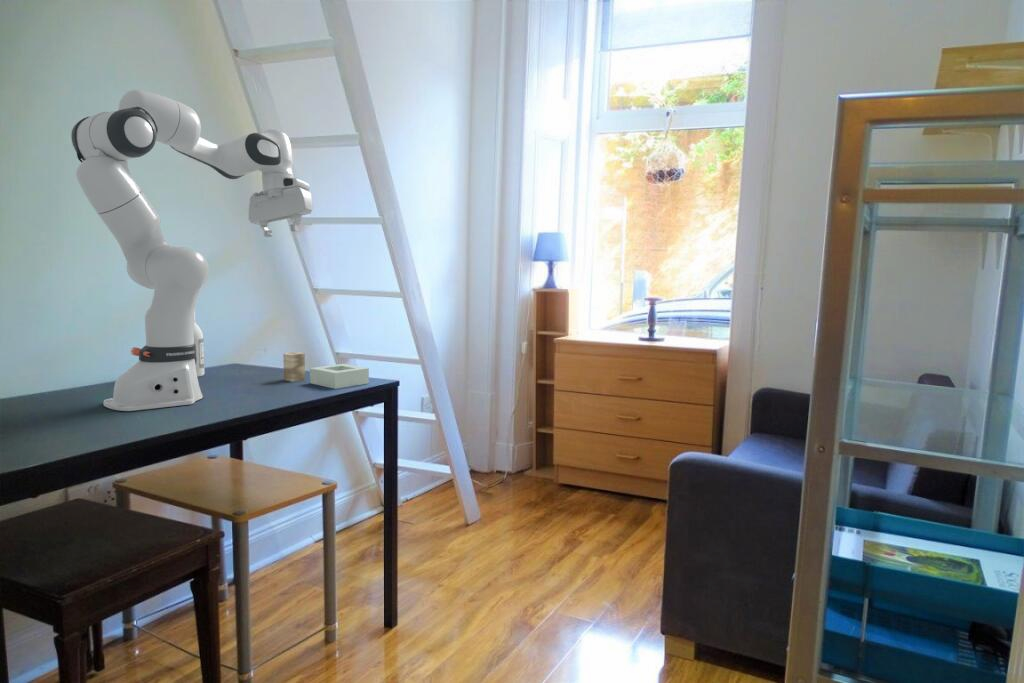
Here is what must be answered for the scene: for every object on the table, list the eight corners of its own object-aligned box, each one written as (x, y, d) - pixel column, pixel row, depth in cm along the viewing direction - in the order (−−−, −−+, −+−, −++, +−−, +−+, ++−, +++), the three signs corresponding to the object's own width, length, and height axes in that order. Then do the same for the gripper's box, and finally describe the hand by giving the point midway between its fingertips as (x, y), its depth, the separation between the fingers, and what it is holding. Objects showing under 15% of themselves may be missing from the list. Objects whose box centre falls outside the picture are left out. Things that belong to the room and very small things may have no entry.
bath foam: (199, 373, 221) (197, 309, 218) (207, 376, 216) (205, 310, 213) (176, 375, 216) (173, 310, 214) (184, 378, 211) (181, 311, 209)
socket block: (335, 388, 200) (335, 373, 200) (310, 383, 208) (310, 368, 207) (368, 383, 209) (368, 368, 209) (343, 378, 217) (343, 363, 216)
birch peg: (292, 381, 210) (291, 355, 209) (283, 379, 213) (283, 353, 212) (305, 379, 213) (304, 353, 212) (296, 378, 216) (296, 352, 215)
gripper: (242, 191, 206) (244, 237, 205) (300, 177, 199) (303, 225, 198) (257, 196, 212) (259, 241, 210) (314, 183, 205) (317, 230, 203)
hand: (281, 234), depth 204 cm, fingers open, 8 cm apart
